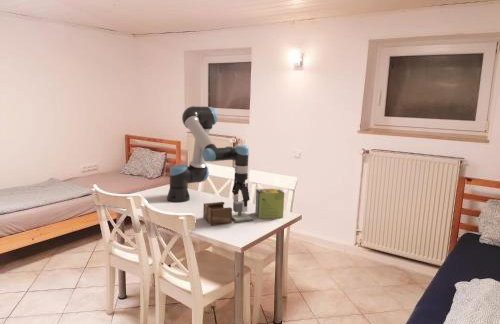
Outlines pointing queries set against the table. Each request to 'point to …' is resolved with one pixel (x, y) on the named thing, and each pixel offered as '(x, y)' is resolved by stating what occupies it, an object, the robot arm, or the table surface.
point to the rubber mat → (242, 221)
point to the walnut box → (217, 213)
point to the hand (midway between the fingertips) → (240, 208)
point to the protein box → (269, 203)
